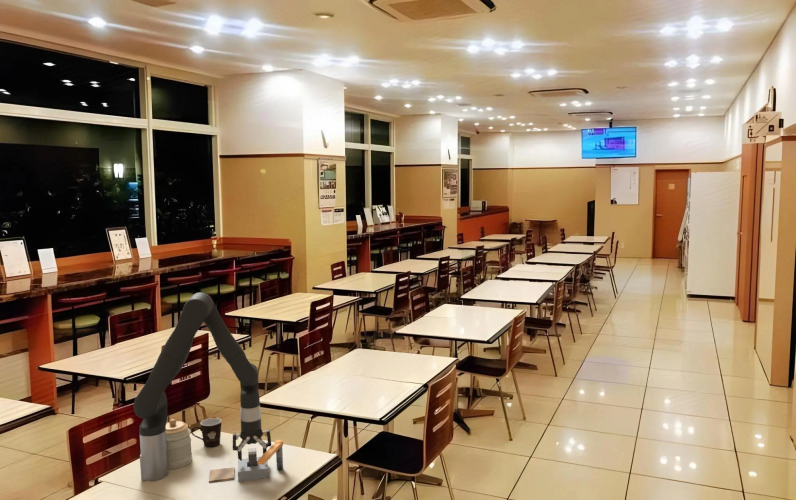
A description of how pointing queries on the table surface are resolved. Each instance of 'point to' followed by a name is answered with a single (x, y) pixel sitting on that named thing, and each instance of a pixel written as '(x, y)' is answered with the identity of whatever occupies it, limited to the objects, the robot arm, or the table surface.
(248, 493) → the table surface
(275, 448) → the orange flat bar
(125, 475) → the table surface
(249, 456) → the plug
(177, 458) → the jar
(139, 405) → the robot arm
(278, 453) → the post
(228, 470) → the pad
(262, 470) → the socket block
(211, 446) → the coffee mug
